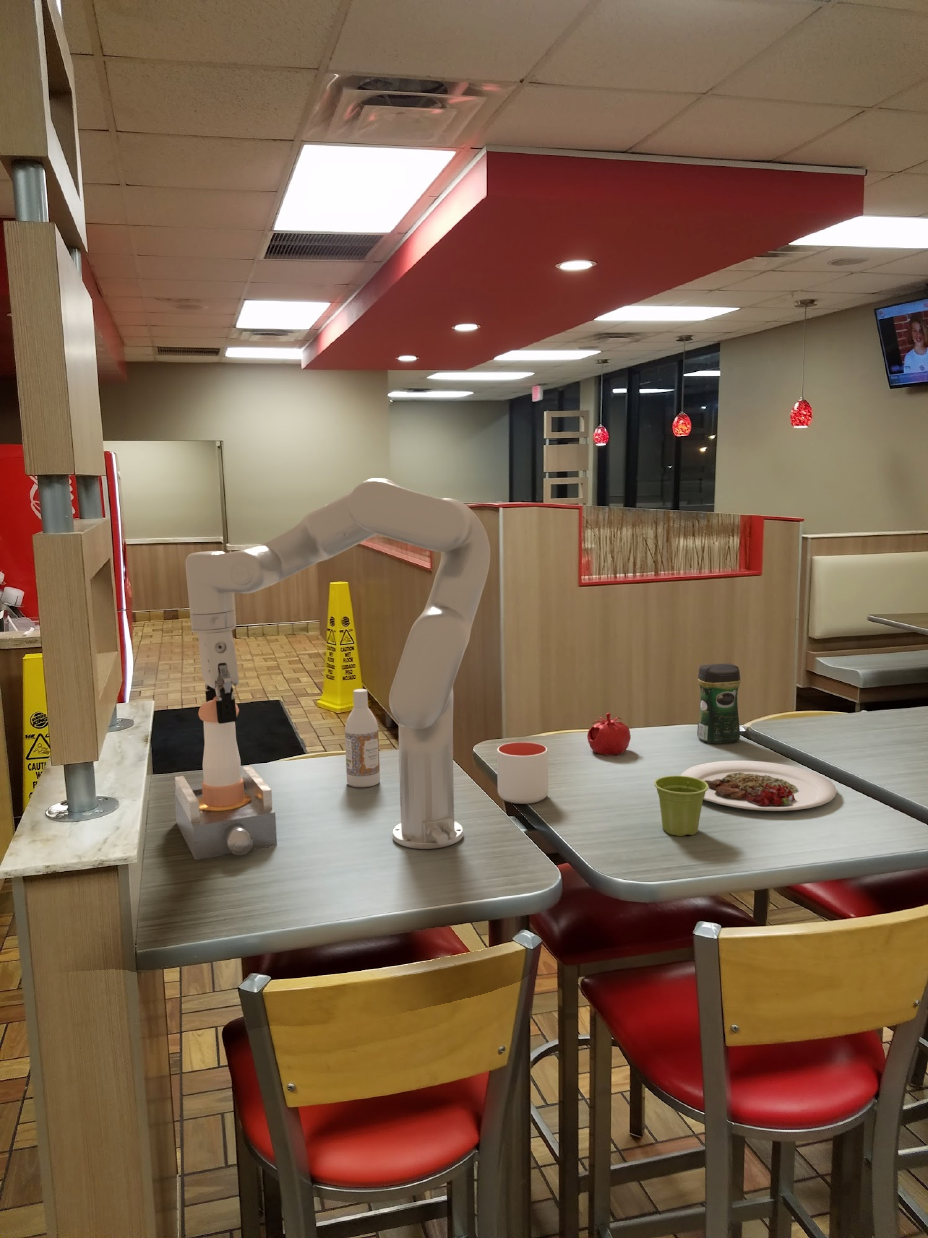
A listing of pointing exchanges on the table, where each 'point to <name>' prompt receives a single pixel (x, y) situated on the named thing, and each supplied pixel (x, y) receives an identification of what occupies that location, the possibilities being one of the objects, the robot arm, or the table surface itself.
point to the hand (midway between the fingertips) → (221, 716)
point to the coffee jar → (718, 703)
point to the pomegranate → (609, 736)
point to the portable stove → (226, 819)
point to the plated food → (762, 785)
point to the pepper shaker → (220, 760)
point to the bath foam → (362, 743)
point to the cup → (522, 772)
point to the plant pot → (680, 803)
